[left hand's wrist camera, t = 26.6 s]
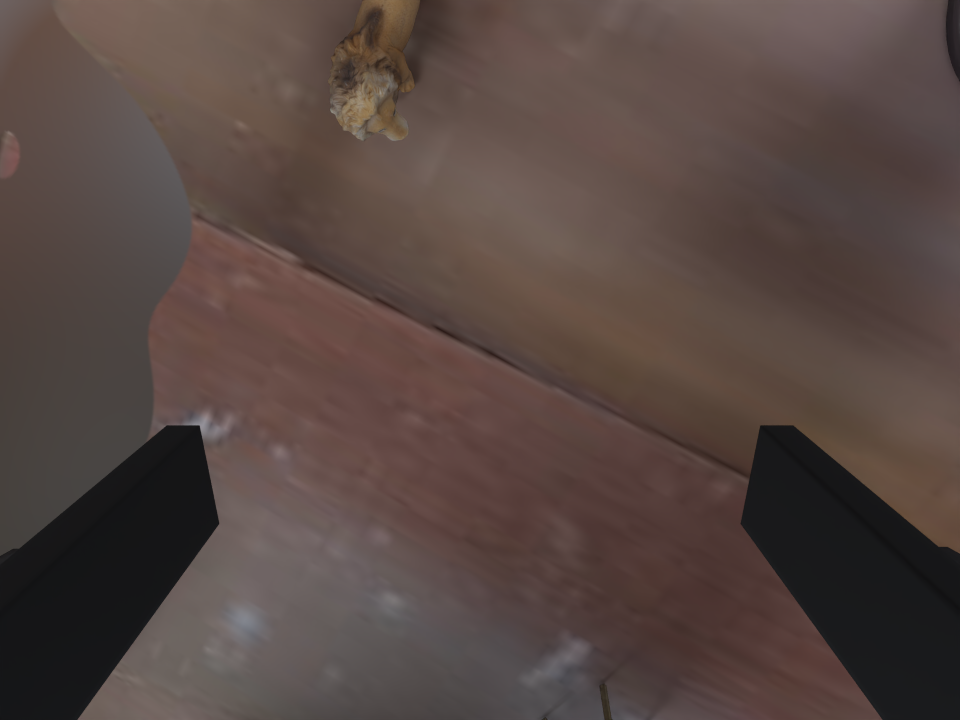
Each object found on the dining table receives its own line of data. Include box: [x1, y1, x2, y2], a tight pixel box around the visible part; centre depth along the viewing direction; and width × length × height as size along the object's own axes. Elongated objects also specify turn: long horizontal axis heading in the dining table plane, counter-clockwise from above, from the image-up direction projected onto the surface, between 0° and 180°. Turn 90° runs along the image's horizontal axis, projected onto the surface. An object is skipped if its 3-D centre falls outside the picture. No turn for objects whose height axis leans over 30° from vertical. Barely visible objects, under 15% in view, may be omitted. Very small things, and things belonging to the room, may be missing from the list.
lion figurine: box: [328, 0, 420, 141], centre depth 31 cm, size 15×5×9 cm, turn 162°
